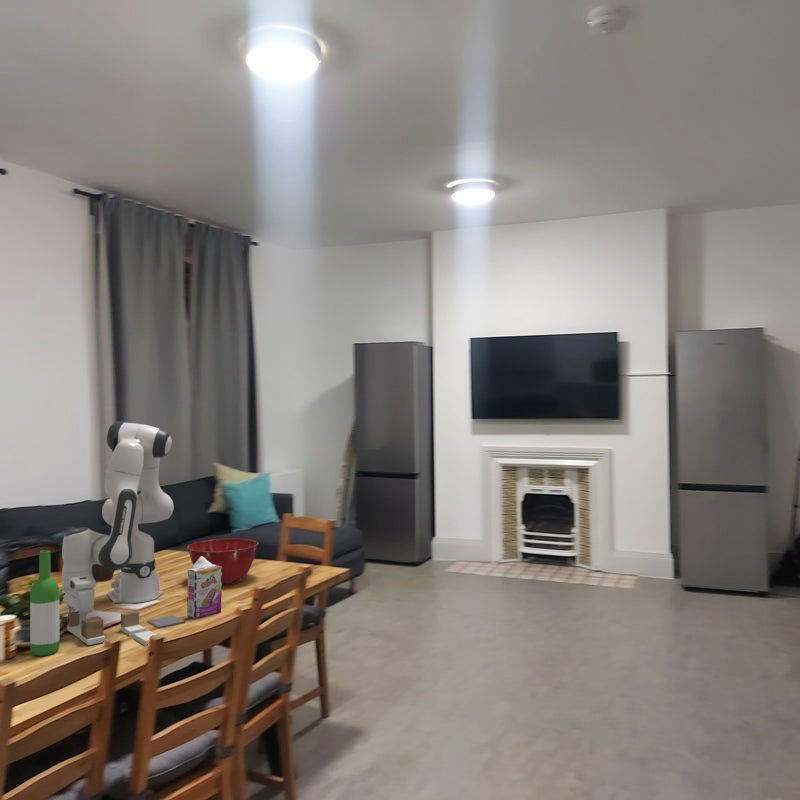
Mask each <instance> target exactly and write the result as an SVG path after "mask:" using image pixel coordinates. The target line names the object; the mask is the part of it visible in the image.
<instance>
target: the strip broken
mask: <svg viewBox="0 0 800 800" xmlns="http://www.w3.org/2000/svg"><path fill="white" fill-rule="evenodd" d="M120 631H121V632H123V633H124V634H125V635H128V636H129V637H132V636H133V639H134V640H135V641H137V642H139V644H142V645H143V646H145V647H147V646H148V645H147V644H148V640H149V638H150V636H152V635H157V633H155V632H153V631H151V630H146V628H145V627H144V626H142V625H140V612H139V611H137V610H131V611H127V612H122V613H120ZM146 645H147V646H146Z"/></svg>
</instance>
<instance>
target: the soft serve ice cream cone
mask: <svg viewBox="0 0 800 800" xmlns="http://www.w3.org/2000/svg"><path fill="white" fill-rule="evenodd" d="M208 565H212V564H211V563H210V562H209V561H207V560H206V559H205V558H204V557H203V556H201V557H200V558H199V559H198V560H197V561H196V563H195V564H194V565H193V564H192V566H191V567H190V569H193V568H198V567H203V566H208Z"/></svg>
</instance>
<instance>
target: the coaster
mask: <svg viewBox="0 0 800 800" xmlns="http://www.w3.org/2000/svg"><path fill="white" fill-rule="evenodd" d="M147 623H148V624H150V625H151V624H152V626H153V627H155V628H157V629H164V628H169V627H173V626H176V625H177V626H178V625H181V624H185V623H186V621H185V620H183V619H181V618H180V617H178V616H176V615H167V616H163V617H159V618H154V619H149V620H147Z"/></svg>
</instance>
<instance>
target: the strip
mask: <svg viewBox="0 0 800 800" xmlns="http://www.w3.org/2000/svg"><path fill="white" fill-rule="evenodd" d="M68 617H69V618H70V623H69V624H68V623H67V625H68V626H67V627H66V629H67V631H68V632H70V633H71V634H73V635H74V636H75V637H76V638H78V639H79V640H81V641H82V642H84V643H85V644H86V645H88V646H91V645H97V644H100V643H104V642H103V641H104V640H105V641H106V636H105V635H104V636H99V637H95V638H90V639H86V638H85V637H83V636H82V635H81V625H79V623H78V619H79V617H80V615H79V612H78V611H76V610H75V612H71V613H69V612H67V618H68Z"/></svg>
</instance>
